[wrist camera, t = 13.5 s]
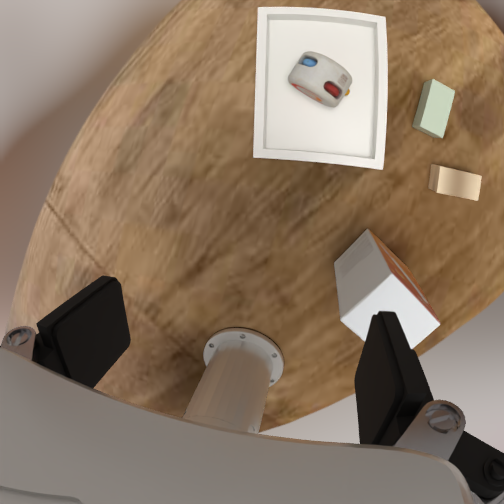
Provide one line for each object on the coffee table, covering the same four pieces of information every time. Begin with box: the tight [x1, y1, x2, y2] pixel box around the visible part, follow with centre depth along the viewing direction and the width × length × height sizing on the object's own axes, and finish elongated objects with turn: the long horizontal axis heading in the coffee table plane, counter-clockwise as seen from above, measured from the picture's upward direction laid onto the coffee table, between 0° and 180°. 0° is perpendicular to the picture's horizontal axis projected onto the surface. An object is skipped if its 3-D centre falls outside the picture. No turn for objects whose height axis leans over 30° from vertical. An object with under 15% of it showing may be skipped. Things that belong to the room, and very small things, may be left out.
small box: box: [334, 229, 440, 349], centre depth 30 cm, size 8×6×13 cm
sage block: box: [412, 79, 455, 138], centre depth 26 cm, size 6×3×3 cm, turn 165°
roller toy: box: [288, 51, 352, 107], centre depth 26 cm, size 4×6×6 cm
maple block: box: [428, 164, 482, 201], centre depth 28 cm, size 6×3×3 cm, turn 88°
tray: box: [253, 7, 388, 170], centre depth 28 cm, size 18×14×2 cm
